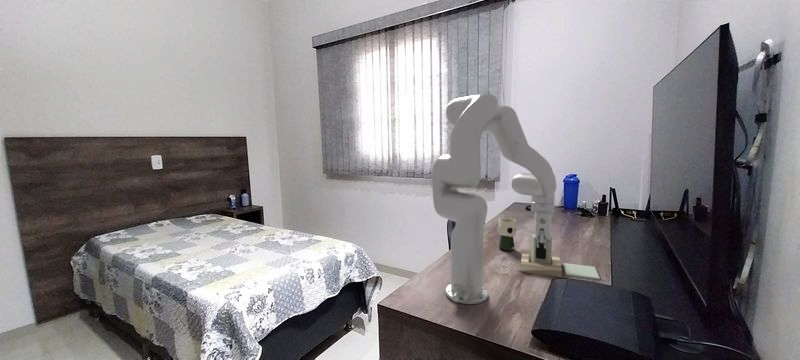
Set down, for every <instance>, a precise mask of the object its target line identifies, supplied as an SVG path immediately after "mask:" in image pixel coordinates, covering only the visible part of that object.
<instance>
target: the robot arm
mask: <svg viewBox="0 0 800 360" xmlns="http://www.w3.org/2000/svg"><path fill="white" fill-rule="evenodd" d="M445 110H446V111H445V116H446V118H447V120H448V122H449V123H450V124H451V125H453V128H452V130H451V133H450V137H449V154H444V155H441V156H440V157H438V158H437V159H436V160H435V161H434V163H433V165H432V169H431V183H432V184H431V185H432V200H433V207H434V208H433V209H434V210H435V213H436V214H437V215H438V216H439V217H442V218H443V219H445V220H450V221H452V222H455V226H454V228H453V229H452V232H451V236H450V284H448V285H446V288H445V295H446V296H447V297H448V298H449V299H450V300H452V301H453V302H455V303H459V304H465V305H476V304H480V303H483V302H485V301H486V300H487V299H488V297H489V292H488V290H487V288H485V286H484V285H483V283H484V282H483V280H484V279H483V278H484V271H483V270H484V234H485V233H484V232H485V225H486V220H487V215H488V204H487V201H486V199H485V198H484V197H482V196H481V195H480V194H477V193H475V192H470V191H464V190H458V188H463V189H470V188H474V187H476V186H478V185H479V183H480V181H481V177H482V176H481V175H482V171H481V170H482V167H481V166H482V165H481V137H482V135H491V134H492V135H493V137H494V139H495V142H496V143H497V145H498V148H499V150H500V153H501V155H502V157H504V158H505V159H506V160H508V161H510V162H511V163H514V164H516V165H518V166H519V167H523V168H524V169H526V170H527V171H529V172H530V173H529V172H523V173H522V172H521V173H517V174H516V175H515V176H513V178H512V180H511V183H510V185H511V189H512V190H513V192H515V193H516V194H519V195H523V196H524V195H525V196H529V197H530V196H531V198H530V199H531V203H530V211H531V212H533V213H534V218H533V220H534V221H533V222H534V223H533V224H534V228H533V229H534V234H535V238H536V239H537V247H536V258H538V259H546V239H547V240H548V241H550V236H551V229H552V227H551V226H552V215H551V214H553V213H554V212H555V199H556V197H555V194H556V190H557V180H556V175H555V173H554V170H553V168H552V165H551V164H550V163H549V161H548V160H547V159H546V158H545V157H544V156H543V155H541V153H539V151H537V150H535V149H534V148H533V147H532V146H530V145H529V142H528V140H527V137H526V135H525V133H524V130H523V127H522V124H521V122H520V120H519V117H518V115H517V113H516V111H515V109H514V108H513V107H511V106H509V105H499V101H498V98H497V97H496V96H495V95H494V94H491V93H487V92H486V93H477V94H473V95H469V96H463V97H458V98H454V99H453V100H451V101H450V102H449V103H448V104H447V105H446V109H445ZM539 237H540V239H539ZM544 238H545V240H544ZM539 241H540V242H539Z"/></svg>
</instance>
